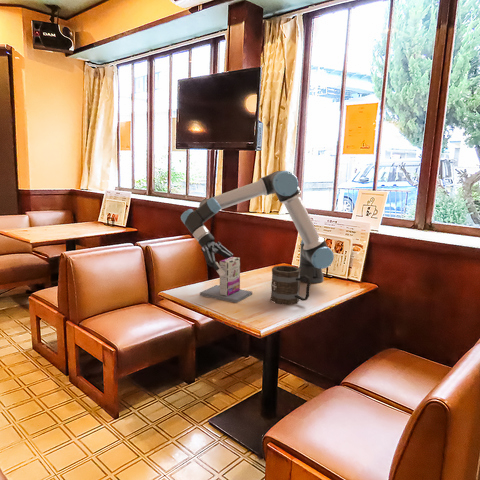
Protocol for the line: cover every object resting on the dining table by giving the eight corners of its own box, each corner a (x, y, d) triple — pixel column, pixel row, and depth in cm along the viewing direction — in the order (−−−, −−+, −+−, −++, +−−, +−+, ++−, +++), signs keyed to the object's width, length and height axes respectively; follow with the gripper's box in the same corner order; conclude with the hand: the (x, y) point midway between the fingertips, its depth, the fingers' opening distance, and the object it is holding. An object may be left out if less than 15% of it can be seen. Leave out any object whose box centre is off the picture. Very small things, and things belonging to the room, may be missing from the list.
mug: (264, 300, 188) (265, 268, 186) (281, 293, 198) (282, 264, 196) (300, 310, 176) (302, 277, 173) (316, 303, 186) (318, 271, 183)
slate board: (251, 294, 196) (251, 291, 196) (236, 302, 183) (236, 299, 183) (216, 287, 205) (216, 285, 205) (199, 295, 192) (199, 292, 192)
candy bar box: (231, 289, 199) (232, 256, 196) (240, 290, 197) (240, 257, 194) (218, 294, 190) (219, 260, 187) (227, 296, 187) (228, 262, 184)
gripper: (213, 238, 208) (238, 271, 203) (184, 246, 186) (211, 282, 182) (222, 229, 204) (247, 262, 200) (193, 235, 183) (221, 272, 178)
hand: (230, 272), depth 191 cm, fingers open, 13 cm apart
